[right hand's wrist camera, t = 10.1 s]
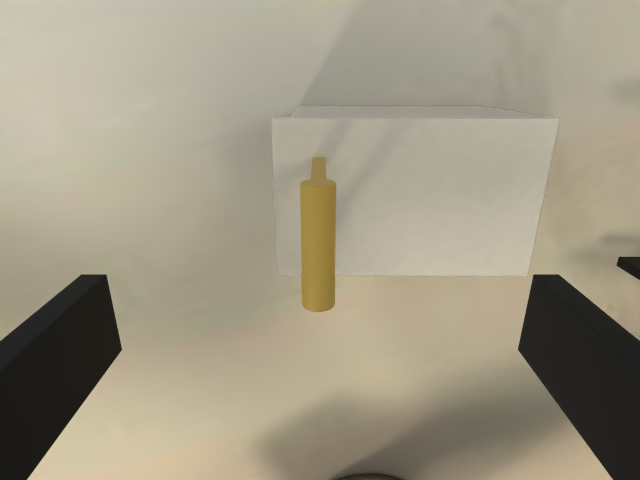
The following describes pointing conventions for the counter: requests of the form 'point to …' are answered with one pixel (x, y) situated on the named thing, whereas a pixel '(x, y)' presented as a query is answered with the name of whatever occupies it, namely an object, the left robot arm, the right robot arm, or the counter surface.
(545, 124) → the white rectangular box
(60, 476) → the counter surface
